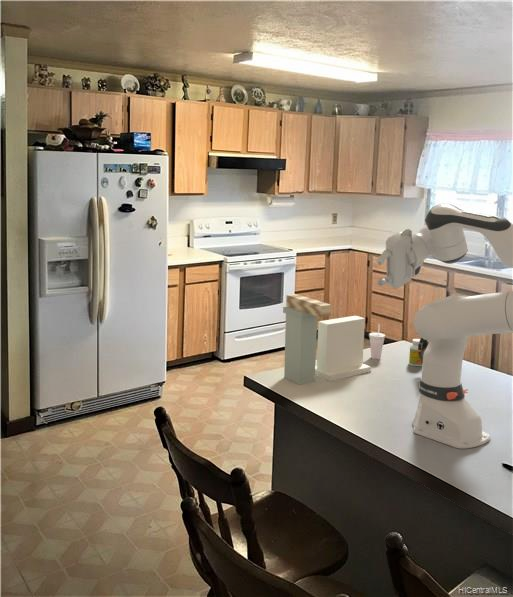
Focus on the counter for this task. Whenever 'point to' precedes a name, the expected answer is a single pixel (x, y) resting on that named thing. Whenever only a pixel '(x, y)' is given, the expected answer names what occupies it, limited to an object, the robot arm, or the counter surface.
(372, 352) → the smoothie
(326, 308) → the rod
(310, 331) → the tall grey square pillar
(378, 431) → the counter surface
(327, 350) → the white slab on base
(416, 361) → the supplement bottle
